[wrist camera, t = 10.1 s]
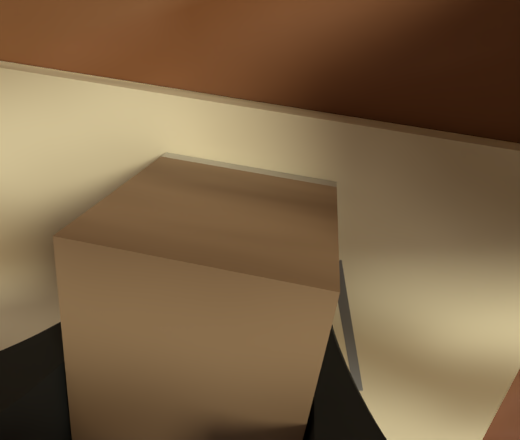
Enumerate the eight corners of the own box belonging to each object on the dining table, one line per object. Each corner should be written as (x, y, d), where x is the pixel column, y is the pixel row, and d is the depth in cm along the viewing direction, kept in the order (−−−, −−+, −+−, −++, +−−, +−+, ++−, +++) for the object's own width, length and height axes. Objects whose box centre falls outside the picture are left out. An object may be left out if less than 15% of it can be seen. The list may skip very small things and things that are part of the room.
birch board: (446, 467, 16) (453, 494, 15) (19, 370, 17) (2, 389, 16) (599, 156, 10) (625, 168, 10) (-30, 56, 12) (-59, 57, 11)
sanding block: (283, 425, 14) (261, 602, 10) (158, 396, 15) (82, 555, 10) (336, 181, 11) (339, 292, 6) (166, 152, 11) (52, 236, 7)
